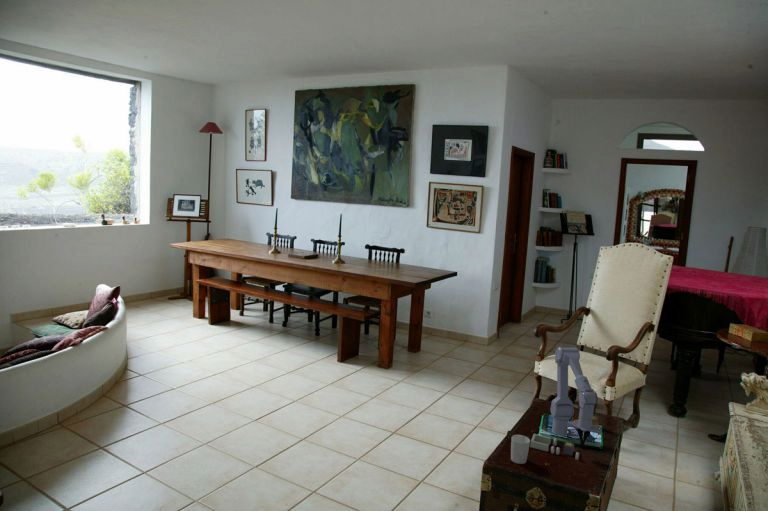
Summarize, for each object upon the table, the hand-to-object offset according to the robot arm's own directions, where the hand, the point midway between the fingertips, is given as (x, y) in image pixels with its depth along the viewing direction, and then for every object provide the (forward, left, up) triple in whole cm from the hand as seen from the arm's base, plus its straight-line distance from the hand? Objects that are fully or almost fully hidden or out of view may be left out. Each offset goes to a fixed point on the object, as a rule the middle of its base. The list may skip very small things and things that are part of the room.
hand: (582, 445), depth 239 cm
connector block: (0, -6, -6) cm, 8 cm away
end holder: (0, -18, -5) cm, 18 cm away
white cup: (+19, -25, -6) cm, 32 cm away
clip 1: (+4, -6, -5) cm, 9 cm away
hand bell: (-35, +2, -6) cm, 36 cm away
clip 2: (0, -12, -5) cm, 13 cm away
